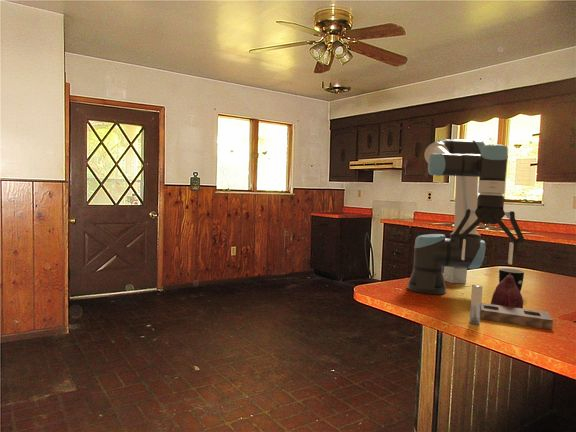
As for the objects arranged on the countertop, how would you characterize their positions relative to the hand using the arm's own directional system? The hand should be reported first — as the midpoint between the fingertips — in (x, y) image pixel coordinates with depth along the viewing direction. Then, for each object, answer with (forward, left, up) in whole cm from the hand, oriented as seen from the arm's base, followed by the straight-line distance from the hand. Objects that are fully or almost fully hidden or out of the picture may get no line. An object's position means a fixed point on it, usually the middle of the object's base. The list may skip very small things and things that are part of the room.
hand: (485, 261), depth 133 cm
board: (+9, +8, -20) cm, 23 cm away
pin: (-2, -3, -20) cm, 20 cm away
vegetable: (+9, +22, -20) cm, 31 cm away
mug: (+12, +49, -20) cm, 54 cm away
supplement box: (-10, +60, -20) cm, 64 cm away
